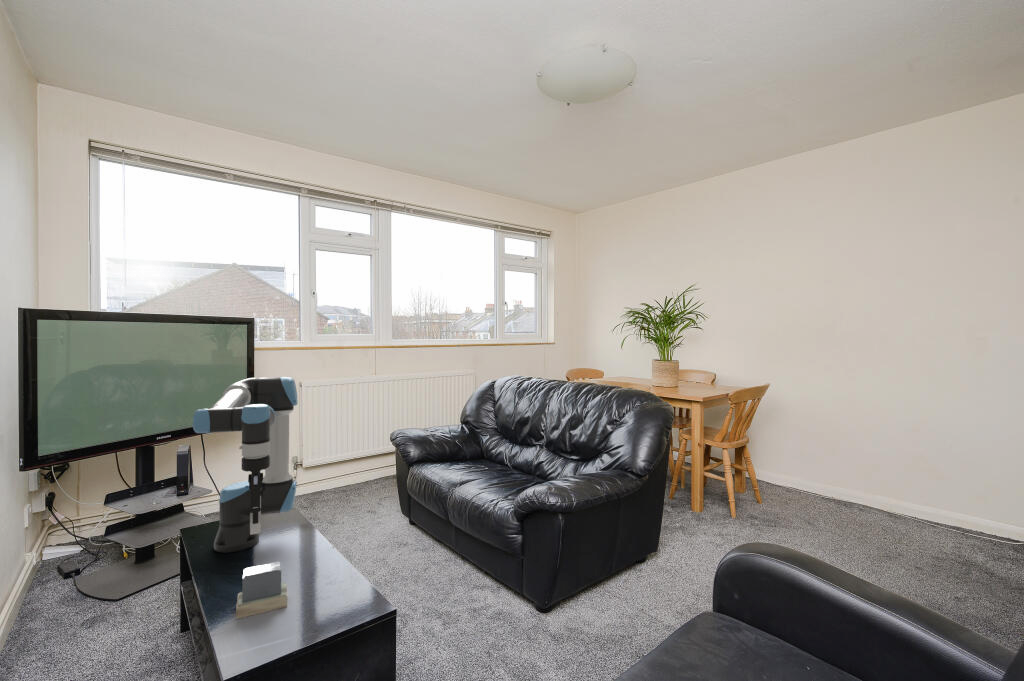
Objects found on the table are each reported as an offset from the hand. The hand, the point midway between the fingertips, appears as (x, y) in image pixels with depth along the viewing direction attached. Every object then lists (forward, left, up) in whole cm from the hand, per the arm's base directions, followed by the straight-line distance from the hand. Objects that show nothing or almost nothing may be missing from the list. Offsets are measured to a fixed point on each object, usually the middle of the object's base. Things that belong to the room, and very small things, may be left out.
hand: (255, 524), depth 139 cm
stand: (+4, +2, -23) cm, 23 cm away
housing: (+4, +2, -19) cm, 20 cm away
